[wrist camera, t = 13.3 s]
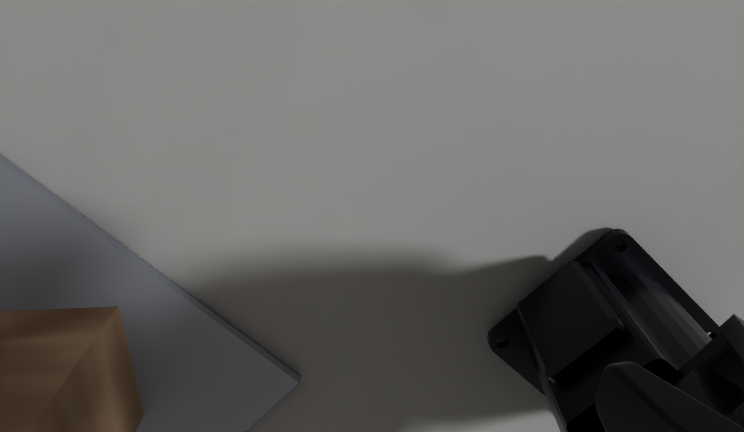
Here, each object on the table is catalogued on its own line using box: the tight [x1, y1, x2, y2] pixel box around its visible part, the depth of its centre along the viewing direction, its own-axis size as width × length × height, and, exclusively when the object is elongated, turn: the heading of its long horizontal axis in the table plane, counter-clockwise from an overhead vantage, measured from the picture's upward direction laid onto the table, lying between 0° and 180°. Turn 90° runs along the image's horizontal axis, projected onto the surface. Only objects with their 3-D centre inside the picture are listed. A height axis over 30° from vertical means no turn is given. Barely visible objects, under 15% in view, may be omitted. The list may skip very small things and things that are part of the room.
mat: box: [0, 154, 300, 432], centre depth 24 cm, size 14×11×1 cm
